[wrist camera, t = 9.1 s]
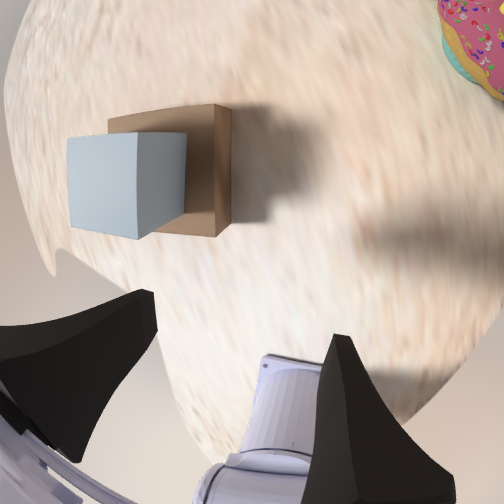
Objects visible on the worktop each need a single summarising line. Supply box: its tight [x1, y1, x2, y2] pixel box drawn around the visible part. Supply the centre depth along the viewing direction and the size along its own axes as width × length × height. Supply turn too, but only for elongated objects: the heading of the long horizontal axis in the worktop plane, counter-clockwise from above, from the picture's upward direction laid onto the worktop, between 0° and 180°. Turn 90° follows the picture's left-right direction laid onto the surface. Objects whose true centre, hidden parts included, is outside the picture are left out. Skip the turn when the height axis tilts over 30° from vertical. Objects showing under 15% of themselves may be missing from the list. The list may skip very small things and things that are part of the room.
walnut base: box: [108, 104, 231, 237], centre depth 18 cm, size 8×8×4 cm
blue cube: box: [67, 132, 187, 240], centre depth 14 cm, size 5×5×5 cm
